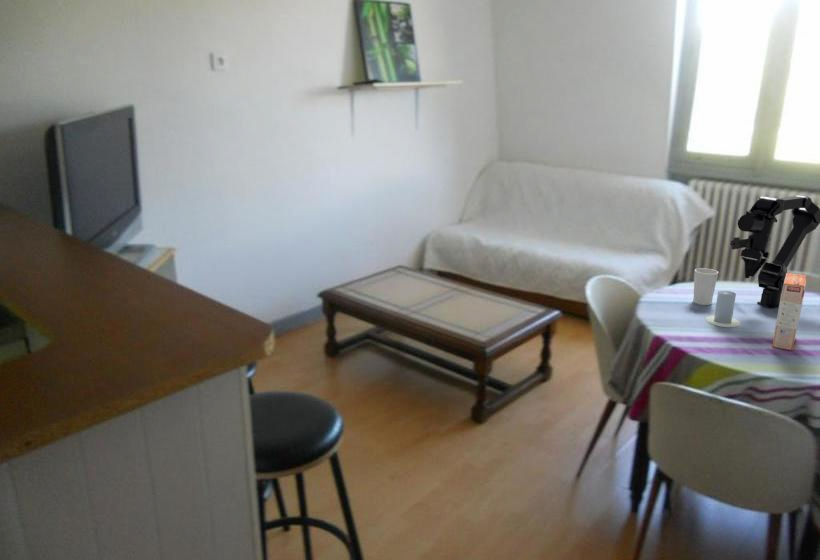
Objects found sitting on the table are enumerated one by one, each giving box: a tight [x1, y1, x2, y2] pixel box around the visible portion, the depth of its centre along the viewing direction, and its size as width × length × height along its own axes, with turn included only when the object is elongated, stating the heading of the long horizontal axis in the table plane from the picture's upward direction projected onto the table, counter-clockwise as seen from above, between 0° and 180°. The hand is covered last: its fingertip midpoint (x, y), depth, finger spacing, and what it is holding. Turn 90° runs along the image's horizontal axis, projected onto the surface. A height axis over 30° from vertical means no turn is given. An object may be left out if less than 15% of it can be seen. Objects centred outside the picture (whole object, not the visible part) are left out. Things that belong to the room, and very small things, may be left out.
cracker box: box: [772, 272, 807, 352], centre depth 203 cm, size 14×6×21 cm, turn 148°
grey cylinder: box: [713, 290, 737, 324], centre depth 222 cm, size 6×6×10 cm
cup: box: [692, 267, 719, 306], centre depth 242 cm, size 8×8×12 cm
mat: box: [704, 315, 741, 328], centre depth 224 cm, size 11×11×1 cm
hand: (749, 277), depth 229 cm, fingers open, 9 cm apart
